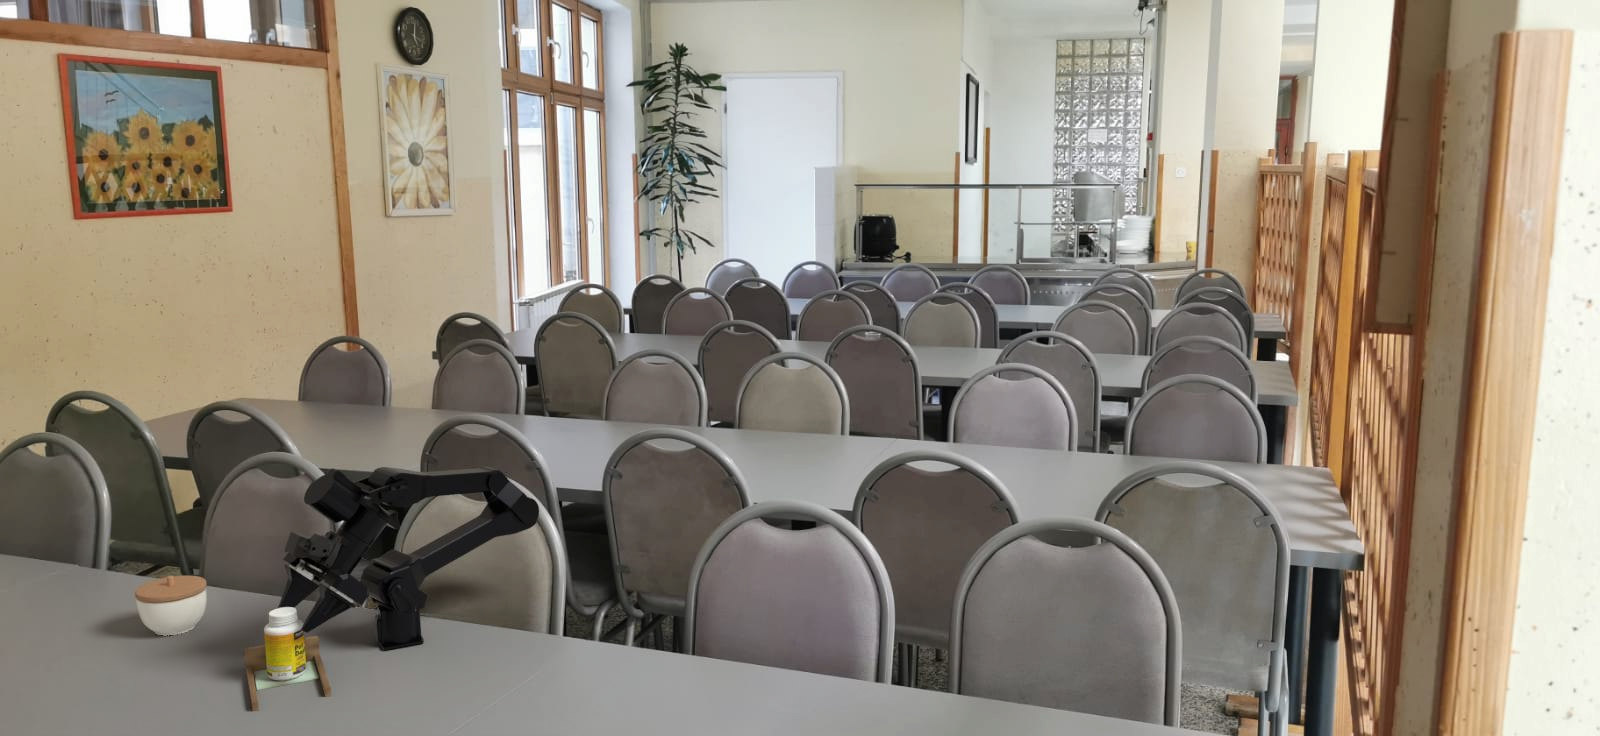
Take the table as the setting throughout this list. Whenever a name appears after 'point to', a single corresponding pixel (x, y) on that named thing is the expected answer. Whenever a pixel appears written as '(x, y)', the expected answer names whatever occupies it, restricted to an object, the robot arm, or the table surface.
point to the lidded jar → (172, 604)
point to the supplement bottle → (284, 644)
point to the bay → (258, 666)
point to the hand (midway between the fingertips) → (291, 623)
